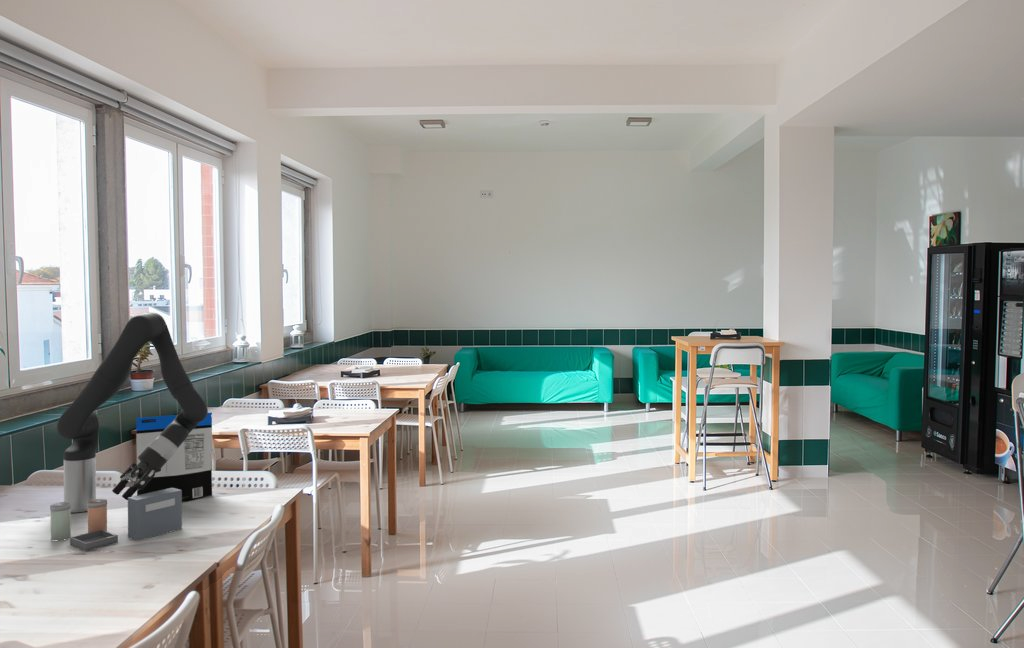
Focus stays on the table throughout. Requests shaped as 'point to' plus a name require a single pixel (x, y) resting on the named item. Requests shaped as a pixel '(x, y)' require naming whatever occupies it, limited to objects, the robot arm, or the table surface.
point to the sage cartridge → (60, 521)
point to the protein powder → (180, 458)
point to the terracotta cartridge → (97, 515)
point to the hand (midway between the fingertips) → (119, 495)
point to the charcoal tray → (93, 540)
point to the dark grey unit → (154, 513)
